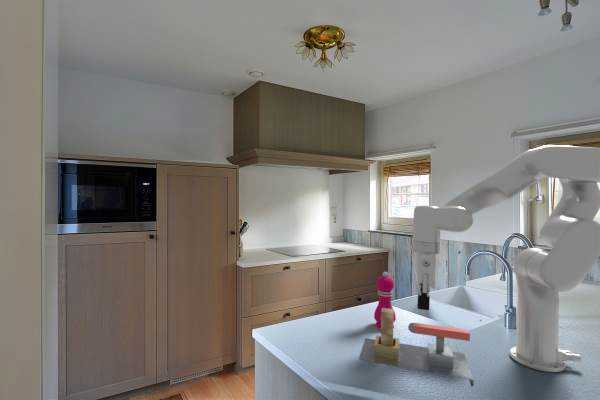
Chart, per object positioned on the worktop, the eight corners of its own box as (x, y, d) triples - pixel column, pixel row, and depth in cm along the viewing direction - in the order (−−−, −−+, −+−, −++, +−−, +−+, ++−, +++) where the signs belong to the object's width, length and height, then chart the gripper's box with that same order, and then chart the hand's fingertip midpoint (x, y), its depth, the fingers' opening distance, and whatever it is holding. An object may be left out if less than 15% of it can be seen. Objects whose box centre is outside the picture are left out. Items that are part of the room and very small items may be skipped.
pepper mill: (396, 334, 106) (397, 274, 105) (374, 332, 107) (375, 273, 107) (394, 326, 113) (395, 270, 112) (373, 324, 114) (374, 268, 114)
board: (464, 357, 91) (464, 342, 91) (473, 384, 78) (473, 367, 78) (365, 341, 100) (365, 328, 100) (358, 363, 87) (358, 348, 87)
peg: (392, 350, 92) (393, 309, 92) (392, 355, 89) (392, 313, 89) (381, 348, 93) (382, 307, 93) (380, 353, 90) (381, 311, 90)
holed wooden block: (399, 348, 93) (399, 338, 93) (398, 359, 87) (398, 348, 87) (376, 345, 95) (376, 335, 95) (373, 355, 89) (374, 344, 89)
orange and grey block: (467, 351, 86) (468, 328, 85) (469, 356, 83) (470, 332, 83) (408, 342, 91) (408, 320, 90) (407, 346, 88) (408, 324, 88)
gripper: (442, 252, 86) (439, 319, 86) (437, 245, 100) (434, 302, 100) (412, 249, 88) (409, 315, 89) (412, 243, 102) (409, 299, 103)
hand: (423, 308), depth 94 cm, fingers closed
